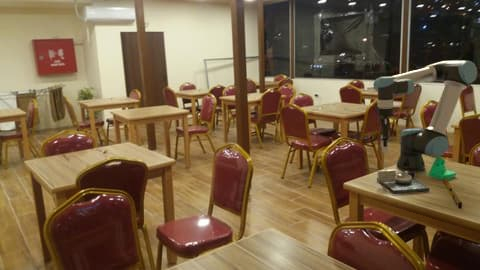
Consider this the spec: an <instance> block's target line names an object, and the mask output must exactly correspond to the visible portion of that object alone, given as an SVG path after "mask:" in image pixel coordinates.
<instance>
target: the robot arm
mask: <svg viewBox="0 0 480 270" xmlns="http://www.w3.org/2000/svg"><path fill="white" fill-rule="evenodd" d="M477 76H478V69H477V66H476V64H475V63H474V62H472V60H471V61H470V60H463V59H462V60H442V61H438V62H435V63H431V64H429V65H426V66H424V67H423V68H419V69H416V70H415V69H414V70H411V71H408V72H403V73H399V74H396V75H392V76H379V77H378V78H376V79H375V80H374V82H373V84H372V85H373V89H374V90H375V91H376V92H377V101H376V104H377V111H376V112H377V113H376V115H378V116H379V117H381V118H380V148H381V153H382V154H384V153H385V154H387V153H389V151H388V149H389V126H390V118H389V117H392V116H393V115H394V108H393V107H394V96H396V95H397V96H399V95H407V94H411V93H413V91H414V90H415V85H419V84H421V83H426V82H428V83H432V82H443V84H444V88H443V90H442V92H441V95H440V98H439V101H438V103H437V104H436V108H435V110H434V113H433V114H432V115H433V116H432V118H431V121H430V123H429V125H428V126H427V127H425V128H424V129H423V128H419V127H418V128H413V127H412V128H406V129H402V130H401V132H400V148H399V150H400V152H399V157H398V158H397V161H396V168H397V169H399V170H402V171H405V172H421V171H424V170H425V168H426V164H425V161H424V160H425V159H424V157H423V155H424V156H427V157H433V158H440V156H441V157H442V156H443V155H444V154H445V153H446V152H447V150H448V149H449V140H448V138H447V137H448V135H447V128H448V126H449V124H450V121H451V119H452V116H453V114H454V111H455V109H456V107H457V104H458V101H459V99H460V96H461V94H462V92H463V91H464V90H465V89H467V88H468V85H469V84H472V83H473V82H475V81H476V79H477Z"/></svg>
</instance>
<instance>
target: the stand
mask: <svg viewBox="0 0 480 270" xmlns="http://www.w3.org/2000/svg"><path fill="white" fill-rule="evenodd" d="M400 173H403V174H408V175H411V176H412V182H411V183H398V182H383V183H379V184H380V185H381V186H382V187H383V188H385V189H386V190H388V191H389V192H390V193H391V194H392V195H402V194H403V195H405V194H416V193H419V194H420V193H429V192H430V189H431V188H430V187H429V186H427V185H426V184H425V183H423V182H422V181H419V180H418V179H416V172H415V171H402V172H400ZM376 182H378V177H376Z"/></svg>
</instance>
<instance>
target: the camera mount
mask: <svg viewBox="0 0 480 270" xmlns="http://www.w3.org/2000/svg"><path fill="white" fill-rule="evenodd" d="M445 164H446V159H445V158H441V157H435V159H434V161H433V163H432V166H431V167H430V170H429V172H428V176H429V177H432V178H436V179H439V180H443V178H446V180H447V181H449V180H451V179H452V178H453V177H456V175H457V174H456V173H457V172H456V171H453V170H448V169H447V167H446V166H445Z"/></svg>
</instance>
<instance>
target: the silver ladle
mask: <svg viewBox="0 0 480 270" xmlns="http://www.w3.org/2000/svg"><path fill="white" fill-rule="evenodd" d="M377 178H378V184H380V183H383V182H398V183H411V182H412V176H411V175H408V174H403V173H401V172H397V170H396V169H385V170H383V169H382V170H377Z"/></svg>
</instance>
